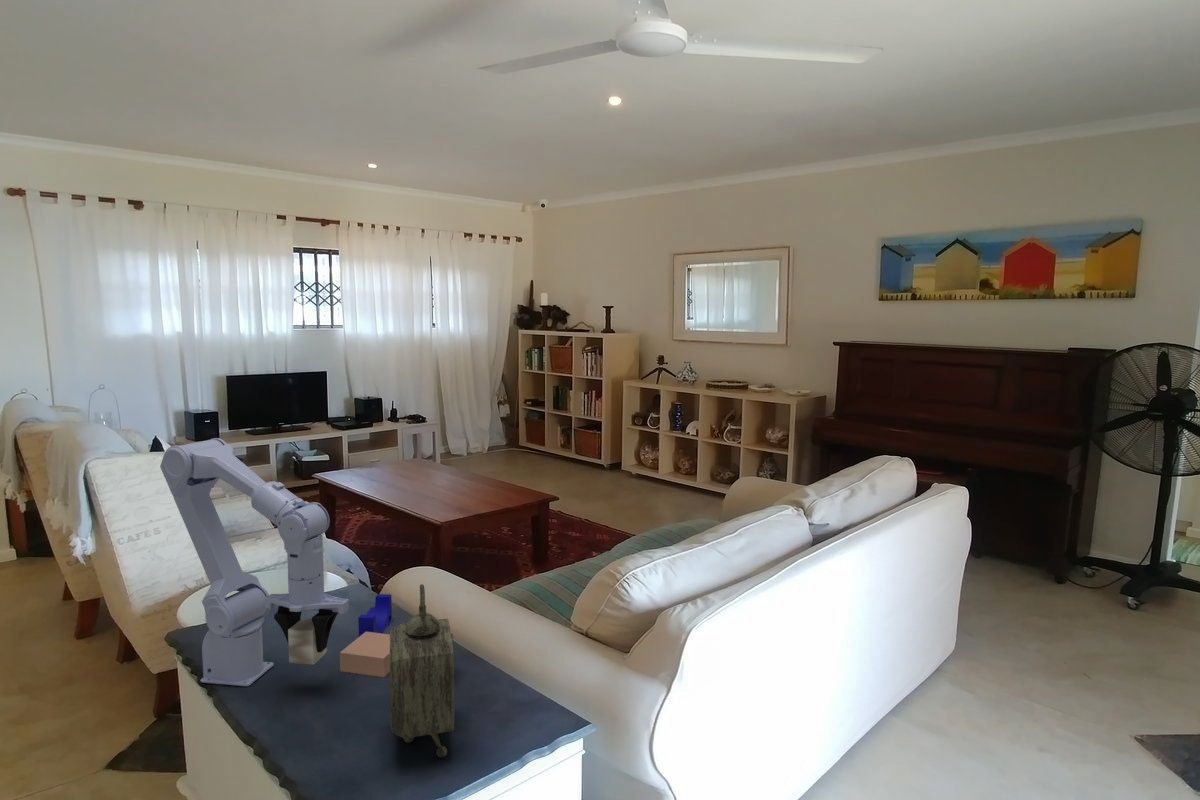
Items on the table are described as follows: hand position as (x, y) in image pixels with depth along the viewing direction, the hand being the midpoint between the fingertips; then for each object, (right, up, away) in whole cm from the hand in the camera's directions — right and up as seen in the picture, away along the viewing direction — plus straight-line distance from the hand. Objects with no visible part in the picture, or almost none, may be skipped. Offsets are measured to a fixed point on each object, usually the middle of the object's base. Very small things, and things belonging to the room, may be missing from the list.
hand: (308, 648), depth 121 cm
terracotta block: (+8, -7, +11) cm, 15 cm away
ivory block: (0, -2, 0) cm, 2 cm away
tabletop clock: (+23, -10, -13) cm, 28 cm away
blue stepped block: (+3, -5, +24) cm, 25 cm away
